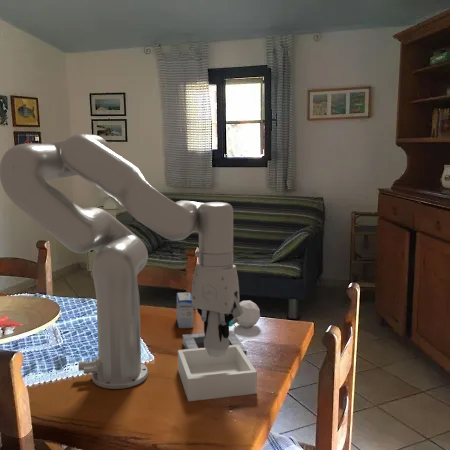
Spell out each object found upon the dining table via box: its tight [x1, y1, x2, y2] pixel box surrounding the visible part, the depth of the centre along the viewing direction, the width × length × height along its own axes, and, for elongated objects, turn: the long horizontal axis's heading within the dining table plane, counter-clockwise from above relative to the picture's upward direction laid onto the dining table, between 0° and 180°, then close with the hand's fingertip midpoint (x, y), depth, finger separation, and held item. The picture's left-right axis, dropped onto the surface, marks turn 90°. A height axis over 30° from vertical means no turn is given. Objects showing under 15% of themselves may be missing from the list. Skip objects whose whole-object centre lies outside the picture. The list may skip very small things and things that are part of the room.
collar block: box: [182, 330, 248, 357], centre depth 127 cm, size 14×14×2 cm
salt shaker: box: [203, 311, 229, 357], centre depth 109 cm, size 6×6×13 cm
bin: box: [177, 345, 258, 402], centre depth 110 cm, size 15×15×5 cm
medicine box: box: [176, 292, 194, 329], centre depth 146 cm, size 8×4×9 cm, turn 10°
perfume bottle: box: [229, 299, 261, 329], centre depth 143 cm, size 8×8×12 cm
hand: (216, 337), depth 109 cm, fingers closed on salt shaker, 3 cm apart
